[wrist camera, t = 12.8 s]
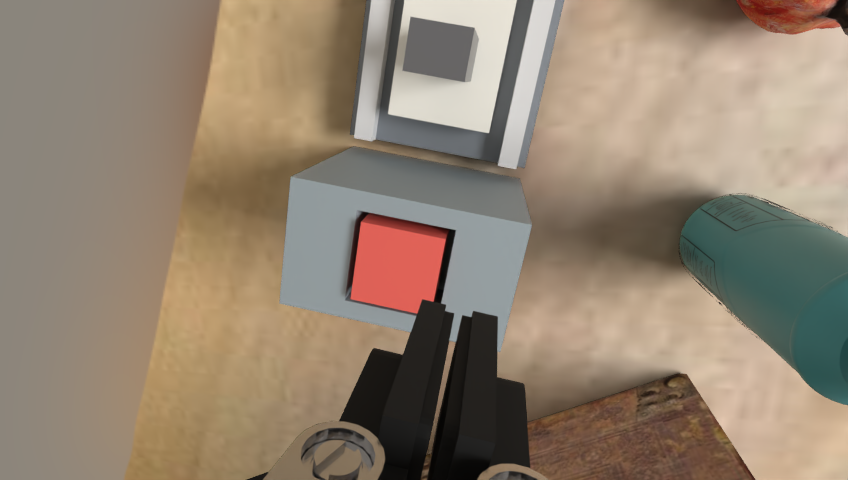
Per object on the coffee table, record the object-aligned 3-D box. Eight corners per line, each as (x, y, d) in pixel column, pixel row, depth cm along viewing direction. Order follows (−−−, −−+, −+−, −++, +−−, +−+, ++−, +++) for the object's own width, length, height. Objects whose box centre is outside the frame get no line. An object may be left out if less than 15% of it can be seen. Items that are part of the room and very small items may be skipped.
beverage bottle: (655, 267, 36) (832, 472, 17) (685, 176, 34) (922, 297, 15) (750, 285, 36) (1037, 515, 17) (785, 193, 34) (1159, 340, 15)
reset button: (378, 202, 29) (360, 221, 25) (452, 217, 28) (445, 239, 25) (368, 271, 30) (350, 299, 26) (438, 286, 30) (430, 316, 26)
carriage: (413, -21, 31) (383, -58, 23) (517, -3, 31) (526, -34, 22) (393, 112, 34) (360, 123, 25) (489, 130, 33) (487, 147, 25)
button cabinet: (353, 146, 36) (290, 176, 25) (519, 178, 36) (532, 225, 24) (342, 237, 39) (279, 303, 27) (498, 270, 38) (500, 351, 27)
